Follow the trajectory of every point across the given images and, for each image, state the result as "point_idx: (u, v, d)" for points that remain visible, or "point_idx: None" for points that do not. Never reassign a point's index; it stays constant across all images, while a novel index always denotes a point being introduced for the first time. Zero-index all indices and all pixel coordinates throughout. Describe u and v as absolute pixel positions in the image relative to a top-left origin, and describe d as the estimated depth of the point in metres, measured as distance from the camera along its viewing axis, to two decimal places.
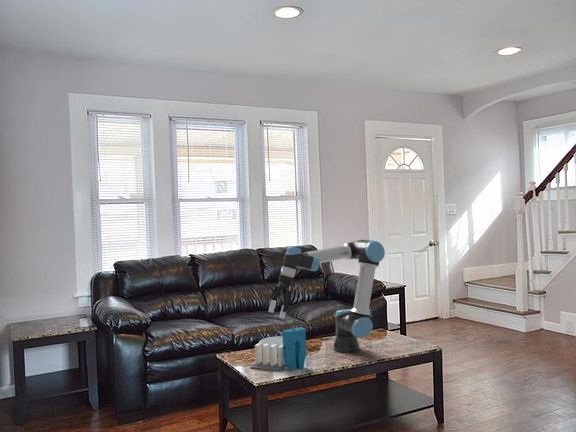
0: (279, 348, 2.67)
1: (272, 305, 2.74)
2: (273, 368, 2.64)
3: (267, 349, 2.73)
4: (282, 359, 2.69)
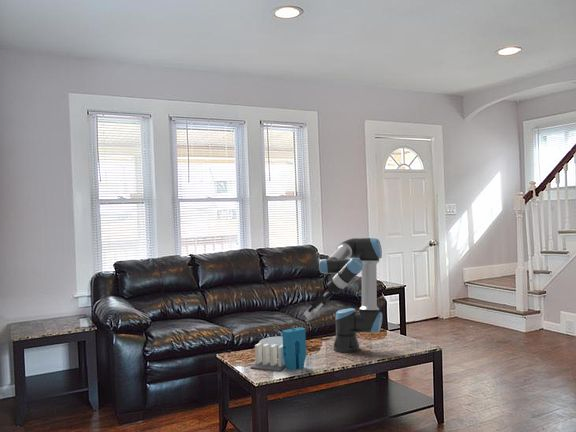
0: (279, 348, 2.67)
1: None
2: (273, 368, 2.64)
3: (267, 349, 2.73)
4: (282, 359, 2.69)
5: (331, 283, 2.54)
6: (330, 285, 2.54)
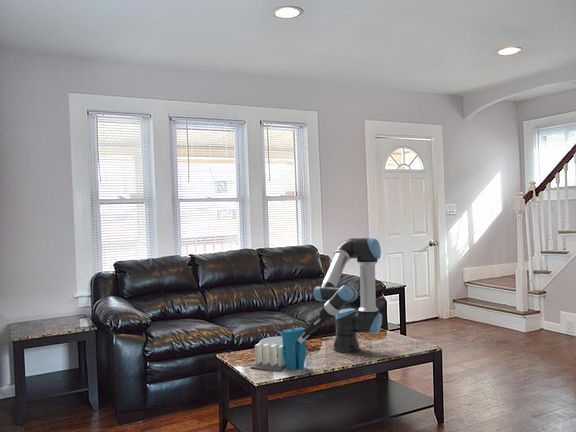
0: (279, 348, 2.67)
1: None
2: (273, 368, 2.64)
3: (267, 349, 2.73)
4: (282, 359, 2.69)
5: (322, 310, 2.56)
6: (322, 312, 2.56)
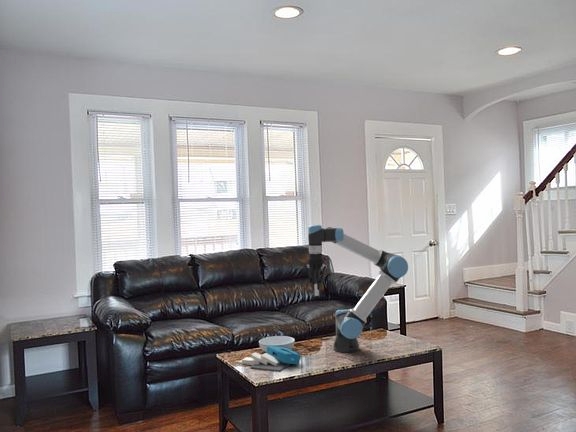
0: (261, 356, 2.73)
1: None
2: (273, 368, 2.64)
3: (247, 358, 2.77)
4: (273, 359, 2.72)
5: None
6: None
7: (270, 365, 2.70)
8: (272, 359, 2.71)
